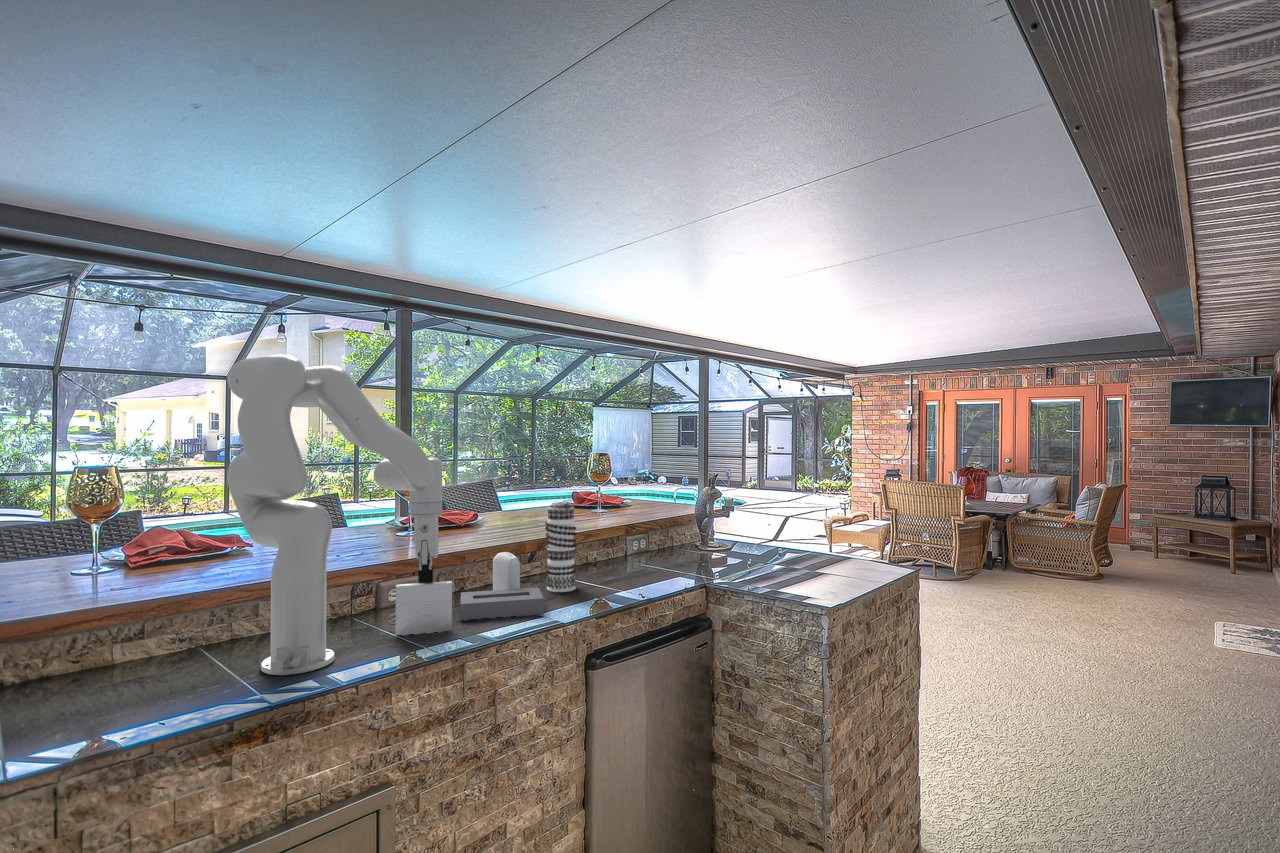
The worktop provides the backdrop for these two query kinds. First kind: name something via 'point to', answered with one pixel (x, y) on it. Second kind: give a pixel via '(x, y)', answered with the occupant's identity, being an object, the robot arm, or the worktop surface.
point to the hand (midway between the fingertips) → (425, 585)
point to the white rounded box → (506, 571)
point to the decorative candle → (560, 547)
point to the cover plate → (423, 607)
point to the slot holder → (501, 603)
